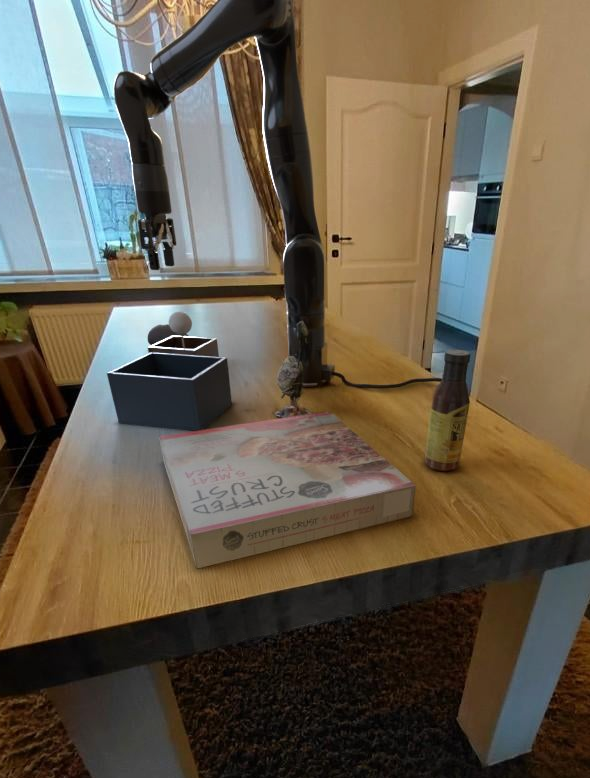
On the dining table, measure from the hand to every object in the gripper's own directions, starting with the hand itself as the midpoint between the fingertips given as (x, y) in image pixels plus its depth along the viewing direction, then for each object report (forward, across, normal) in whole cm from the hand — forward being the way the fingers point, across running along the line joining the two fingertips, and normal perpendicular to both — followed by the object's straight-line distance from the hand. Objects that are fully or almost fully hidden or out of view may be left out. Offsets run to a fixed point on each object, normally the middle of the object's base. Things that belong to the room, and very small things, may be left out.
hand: (162, 267), depth 121 cm
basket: (+26, +4, -1) cm, 26 cm away
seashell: (+26, +27, +13) cm, 40 cm away
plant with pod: (+25, -27, -38) cm, 52 cm away
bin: (+25, -30, -12) cm, 41 cm away
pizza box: (+25, -59, -42) cm, 77 cm away
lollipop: (+26, +4, -1) cm, 26 cm away
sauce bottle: (+24, -47, -69) cm, 87 cm away
